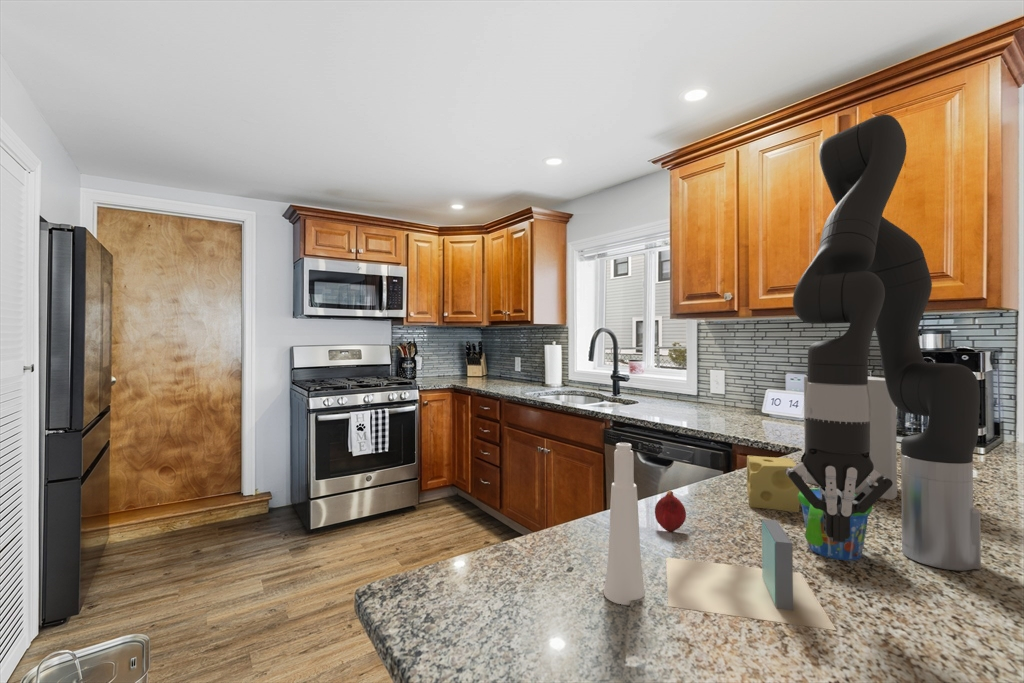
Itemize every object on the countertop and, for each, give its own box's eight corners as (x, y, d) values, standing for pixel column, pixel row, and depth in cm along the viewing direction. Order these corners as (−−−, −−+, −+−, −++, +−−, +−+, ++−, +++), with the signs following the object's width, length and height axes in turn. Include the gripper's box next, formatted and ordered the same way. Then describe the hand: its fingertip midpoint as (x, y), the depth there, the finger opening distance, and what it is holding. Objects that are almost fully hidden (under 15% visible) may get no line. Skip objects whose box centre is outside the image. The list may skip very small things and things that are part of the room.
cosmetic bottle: (611, 581, 75) (610, 438, 75) (650, 591, 72) (650, 442, 72) (597, 599, 70) (596, 445, 70) (639, 610, 67) (638, 449, 67)
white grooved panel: (910, 488, 123) (909, 378, 124) (891, 500, 114) (890, 380, 115) (826, 473, 139) (825, 374, 139) (803, 482, 130) (802, 376, 130)
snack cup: (828, 536, 93) (828, 482, 93) (893, 557, 83) (892, 498, 83) (777, 553, 85) (776, 494, 85) (841, 578, 76) (841, 512, 76)
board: (800, 578, 76) (800, 572, 76) (836, 636, 61) (836, 630, 61) (666, 562, 82) (666, 557, 82) (668, 612, 66) (668, 606, 66)
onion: (688, 539, 91) (687, 496, 92) (656, 537, 93) (656, 494, 93) (683, 527, 97) (683, 487, 97) (653, 525, 98) (653, 486, 98)
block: (777, 579, 74) (776, 520, 74) (793, 610, 65) (792, 543, 65) (761, 577, 74) (761, 518, 74) (775, 608, 66) (775, 541, 66)
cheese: (749, 508, 109) (748, 463, 109) (745, 494, 119) (745, 453, 119) (802, 514, 105) (802, 467, 105) (794, 499, 115) (794, 457, 115)
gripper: (881, 414, 70) (880, 536, 69) (777, 410, 74) (777, 525, 73) (906, 422, 62) (905, 558, 62) (790, 416, 66) (789, 544, 66)
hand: (836, 540), depth 68 cm, fingers closed
